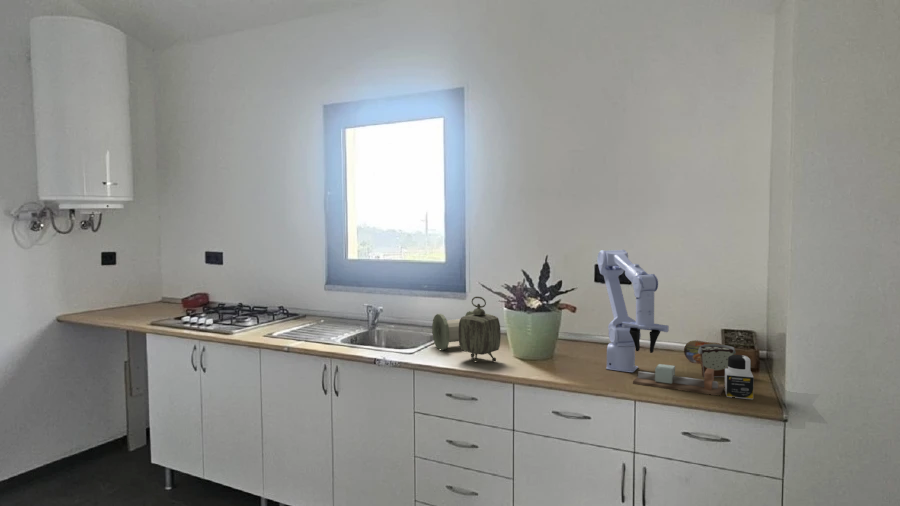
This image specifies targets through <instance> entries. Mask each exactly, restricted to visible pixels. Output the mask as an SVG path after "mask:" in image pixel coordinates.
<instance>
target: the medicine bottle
mask: <svg viewBox="0 0 900 506" xmlns="http://www.w3.org/2000/svg"><path fill="white" fill-rule="evenodd" d="M754 380H755V379H754V375H753V373H752V371H751V359H750V358H749V357H748V356H747V355H742V354H734V355H731V356H729V357H728V368H725V377H724V385H725V388H724V392H725V395H726V397H727V398H732V397H735V398H736V399H746V400H754V383H755V382H754ZM735 398H734V399H735Z"/></svg>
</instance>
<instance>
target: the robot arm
mask: <svg viewBox="0 0 900 506" xmlns="http://www.w3.org/2000/svg"><path fill="white" fill-rule="evenodd" d="M596 259H597V260H596V261H597V265H598V266H597V267H598V270H599V274H600V275H602V276H603V278H604V283H605V286H606V290H607V295H608V299H609V303H610V307H611V312H612V316H613V319H612V320H611V321H610V322H609V323H608V325H607V328H608V339H609V341H610V342H609V343H608V344H607V347H606V367H605V369H606V370H611V371H618V372H623V373H624V372H626V373H634V372H635V371H636V370H637V369H638V368H639V366H638V365H636V352H639V351H640V349H641V346H640V345H641V344H640V340H641V338H642V337H641V335H642V334H641V330H644V331H649V343H650V344H649V353H650V354H651V353H654V350H655V346H656V342H657V340H658V337H659V336H660V334H661V332H664V333H668V332H669V331H670V330H669V328H670V327H669V325H667V324H666V325H665V324H659V323H655V292H657V290H658V289H659V288H658V287H659V280H658V277H657V276H656V275H655V273H651V274H650V273H648V272H647V271H646V270H644V269H643V268H642V267H641V266H640V264H639V263H633V262H632V261H631V260H630V258H629V254H628V252H627V250H625V249H613V250H611V249H610V250H609V249H608V250H604V249H601V250H600V251H599V252H598V253H597V258H596ZM622 274H624V275H625V277H626V278H627V279H628V280H629V281H630V282H631V283H632V288H633V291H634V292H633V293H634V297H635V319H633V318H632V317H630V316H629V314H628V310H627V306H626V302H625V298H624V294H623V291H622V286H621V283H620V278H619V277H620V276H621V275H622Z"/></svg>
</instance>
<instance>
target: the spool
mask: <svg viewBox="0 0 900 506" xmlns="http://www.w3.org/2000/svg"><path fill="white" fill-rule="evenodd" d="M473 311H474V310H468V311H467V312H466V313H465V314H464V315H465V316H468V315H472V313H473ZM460 319H461V318H460ZM460 319H449V320H447V317H445V315H444V314H443V313H436V314H435V315H434V317H433V319H432V325H431V329H432V330H431V331H432V340H433V342H434V346H435V347H436V349H437V348H439V349H441V350H442V351H446V350H447V349H448V347H449V344H450V343H454V342H459V322H460ZM439 349H438V350H439Z"/></svg>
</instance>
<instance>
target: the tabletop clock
mask: <svg viewBox="0 0 900 506" xmlns="http://www.w3.org/2000/svg"><path fill="white" fill-rule="evenodd" d="M475 299H480V300H482V301H483V302H484V304H483V305H481V304H480V303H477V304H474V300H475ZM486 303H487V301H486V299H485V298H484V297H482V296H473V298H472V299H471V304H472V306H473V307H475V308H474V310H472V311H473V313H472V315H468V316H461V317H460V322H459V341H458V344H459V349H461V350H462V351H465V352H467V353H470V357H471V358H473V362H474V361H477V362H478V361H479V360H478V358H477V357H478V355H482V356H483V355H486V354H487V355H489V356H490V358H491V361H492V362H493V361H495V362H496V361H497V358H496V357H494V356H493V354H492V353H494V352H496V351H499V350H500V347H501V336H502V335H501V323H500V320H499V318H498V317H497V316H496V315H494V314H490V313H489V314H488V313H486V311H485V310H484V309H483V308H485V307H486V305H487V304H486Z"/></svg>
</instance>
